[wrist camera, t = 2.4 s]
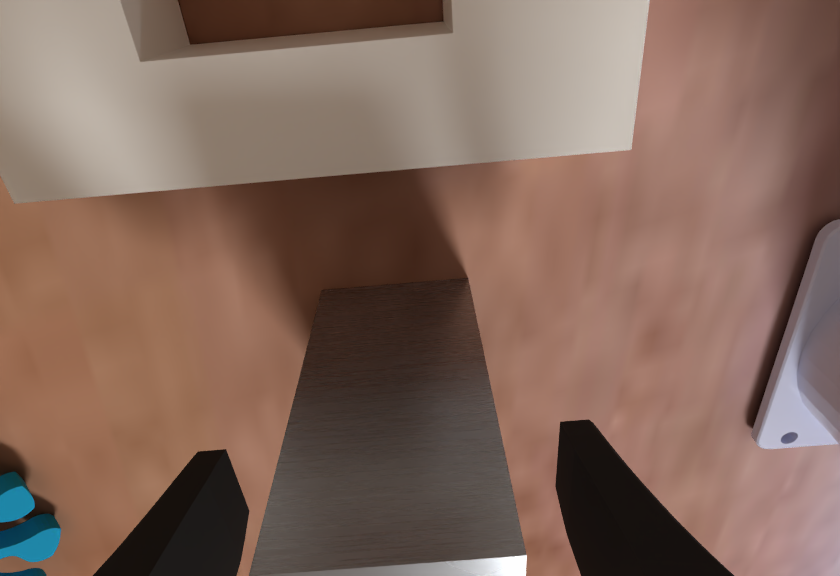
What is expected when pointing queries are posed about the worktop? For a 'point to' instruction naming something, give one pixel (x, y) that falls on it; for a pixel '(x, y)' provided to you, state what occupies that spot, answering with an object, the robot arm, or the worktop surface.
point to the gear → (25, 526)
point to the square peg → (392, 445)
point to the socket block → (304, 94)
